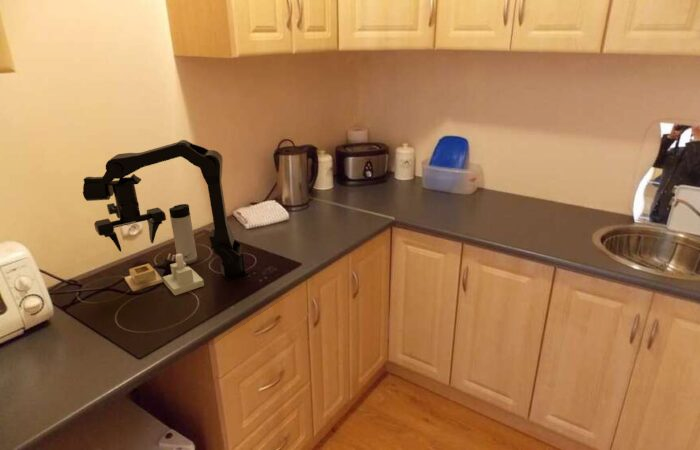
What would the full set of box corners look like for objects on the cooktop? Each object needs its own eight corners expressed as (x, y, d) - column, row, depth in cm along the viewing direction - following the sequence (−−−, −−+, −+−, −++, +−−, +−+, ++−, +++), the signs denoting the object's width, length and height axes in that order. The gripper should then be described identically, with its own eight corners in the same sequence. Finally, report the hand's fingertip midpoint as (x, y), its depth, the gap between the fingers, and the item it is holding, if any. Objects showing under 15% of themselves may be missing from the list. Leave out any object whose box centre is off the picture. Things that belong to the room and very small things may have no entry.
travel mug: (190, 265, 154) (181, 209, 146) (174, 263, 156) (164, 207, 148) (202, 257, 160) (193, 203, 152) (185, 255, 162) (176, 201, 154)
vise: (192, 273, 149) (187, 245, 145) (204, 285, 142) (199, 256, 138) (163, 282, 144) (158, 253, 140) (174, 295, 137) (169, 265, 133)
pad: (154, 271, 151) (153, 268, 151) (163, 281, 144) (162, 279, 144) (124, 280, 146) (124, 277, 146) (132, 291, 139) (132, 288, 139)
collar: (150, 271, 149) (148, 263, 148) (156, 278, 144) (154, 270, 143) (130, 277, 145) (128, 269, 144) (136, 285, 141) (134, 276, 140)
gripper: (150, 185, 146) (159, 231, 152) (84, 198, 135) (96, 246, 141) (162, 194, 138) (170, 242, 144) (93, 208, 127) (105, 259, 133)
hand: (136, 246), depth 141 cm, fingers open, 9 cm apart
